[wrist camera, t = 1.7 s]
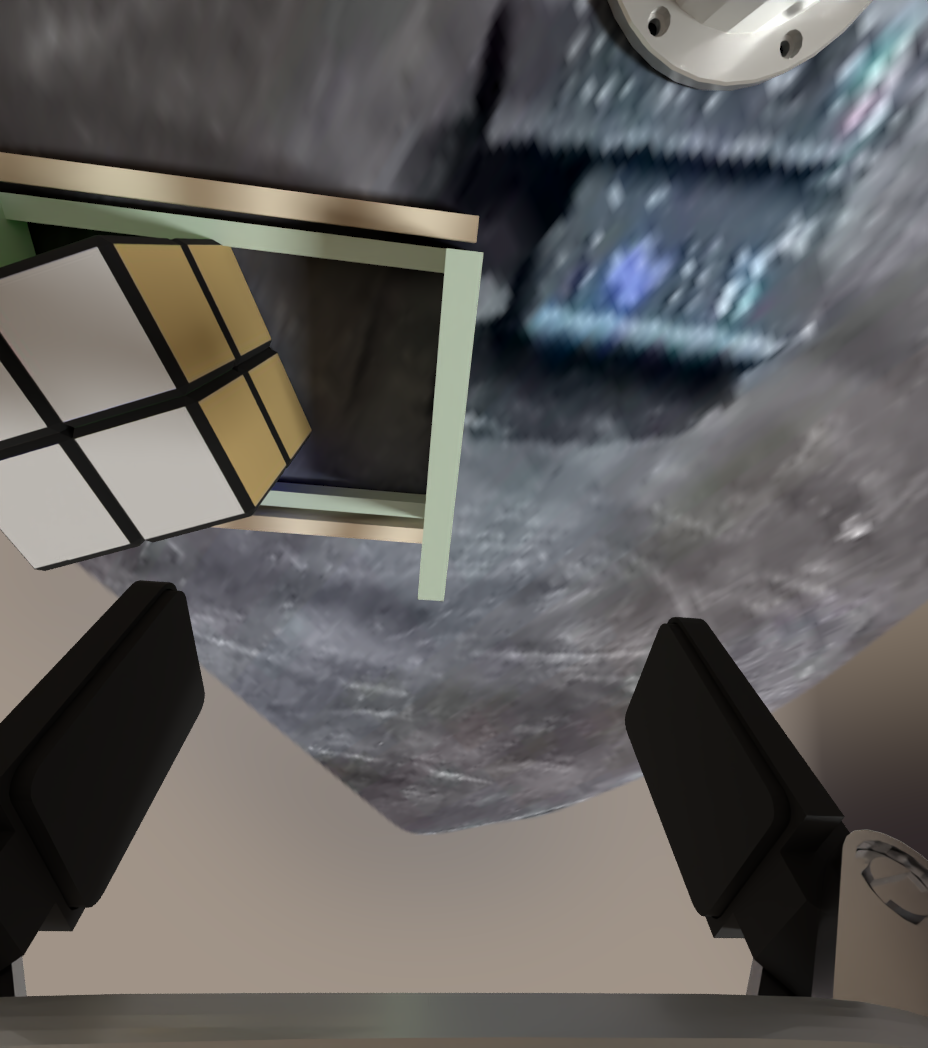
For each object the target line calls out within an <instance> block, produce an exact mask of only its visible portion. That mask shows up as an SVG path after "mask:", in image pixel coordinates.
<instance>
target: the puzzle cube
mask: <svg viewBox="0 0 928 1048" xmlns="http://www.w3.org/2000/svg"><path fill="white" fill-rule="evenodd" d="M271 340H272V339H271V337H270V335H269V332H268V330H267V328H266V326H265V323H264V321H263V319H262V317H261V314H260V312H259V310H258V308H257V305H256V303H255V301H254V299H253V296H252V294H251V292H250V290H249V287H248V285H247V283H246V281H245V278H244V276H243V274H242V272H241V269H240V267H239V265H238V263H237V260H236V258H235V256H234V254H233V251H232V249H231V247H229V246H223V245H221V244H220V243H218V242H216V241H215V240H213V239H187V238H174V239H171V240H170V239H168V238H152V237H131V236H110V235H95V236H92V237H89V238H86V239H83V240H80V241H77V242H74V243H71V244H68V245H65V246H62V247H59V248H56V249H54V250H51V251H48V252H45V253H42V254H39V255H36V256H33V257H30V258H27V259H24V260H21V261H18V262H15V263H12V264H9V265H6V266H3V267H0V530H1V531H2V532H3V533H4V534H5V535H6V537H7V538H8V539H9V540H10V541H11V542H12V544H13V545H14V546H15V547H16V548H17V549H18V551H19V552H20V553H21V554H22V555H23V556H24V558H25V559H26V560H27V561H28V562H29V563H30V564H31V566H32V567H33V568H34V569H37V570H43V571H46V570H50V569H54V568H58V567H62V566H65V565H69V564H73V563H77V562H80V561H84V560H88V559H92V558H96V557H99V556H103V555H107V554H111V553H114V552H118V551H122V550H126V549H130V548H133V547H137V546H140V545H141V544H142V543H143V542H144V541H145V540H147V541H150V542H156V541H160V540H164V539H167V538H171V537H175V536H179V535H182V534H186V533H190V532H194V531H198V530H201V529H205V528H209V527H213V526H216V525H220V524H224V523H228V522H232V521H235V520H239V519H243V518H247V517H250V516H252V515H253V514H254V512H255V511H256V510H257V508H258V507H259V506H260V504H261V503H262V501H263V500H264V499H265V497H266V496H267V495H268V493H269V492H270V490H271V489H272V488H273V486H274V485H275V483H276V482H277V481H278V479H279V478H280V477H281V475H282V474H283V472H284V470H285V468H287V467H288V466H289V465H290V463H291V462H292V460H293V459H294V458H295V456H296V455H297V453H298V452H299V451H300V449H301V448H302V446H303V445H304V444H305V442H306V441H307V439H308V438H309V436H310V434H311V431H312V430H311V427H310V425H309V423H308V421H307V418H306V416H305V414H304V412H303V409H302V407H301V405H300V403H299V400H298V398H297V396H296V394H295V391H294V389H293V387H292V385H291V382H290V380H289V378H288V376H287V373H286V371H285V369H284V367H283V364H282V362H281V360H280V358H279V355H278V353H277V352H275V351H273V350H271V349H269V345H270V343H271ZM267 348H268V349H267Z"/></svg>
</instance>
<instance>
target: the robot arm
mask: <svg viewBox="0 0 928 1048" xmlns="http://www.w3.org/2000/svg"><path fill="white" fill-rule="evenodd" d="M872 1H873V0H608V3H609V5H610V8H611V10H612V13H613V16H614V18H615V20H616V21H617V23H618V24H619V26H620V28H621V29H622V31H623V33H624V34H625V36H626V37H627V39H628V41H629V42H630V44H631V46H632V47H633V48H634V49H635V50H636V51H637V52H638V53H639V54H640V55H641V56H642V57H643V58H644V59H645V60H646V61H647V62H648V63H649V64H650V65H651V66H652V67H653V68H654V69H656V70H657V71H659V72H661V73H662V74H664V75H665V76H667V77H669V78H670V79H672V80H673V81H675V82H677V83H680V84H684V85H687V86H690V87H694V88H697V89H700V90H716V91H732V90H736V89H741V88H746V87H750V86H755V85H759V84H761V83H763V82H766V81H768V80H770V79H772V78H774V77H777V76H779V75H781V74H783V73H786V72H788V71H789V70H791V69H793V68H794V67H796V66H798V65H800V64H801V63H803V62H805V61H806V60H808V59H810V58H812V57H813V56H815V55H816V54H817V53H819V52H820V51H821V50H822V49H823V48H825V47H826V46H827V45H828V44H830V43H831V42H832V41H833V40H835V39H836V38H837V37H838V36H840V35H841V34H842V33H843V32H844V31H845V30H846V29H847V28H848V27H849V26H850V25H851V24H852V23H853V22H854V21H855V19H856V18H857V17H858V16H859V15H860V14H861V13H862V12H863V11H864V10H865V9H866V8H867V7H868V5H869V4H870V3H871V2H872ZM649 23H653V24H655V26H656V28H657V31H656V35H655V36H653V35H651V34H650V31H649V29H648V24H649ZM780 45H781V46H782V48H783V55H782V56H781V53H780ZM204 696H205V692H204V686H203V681H202V676H201V671H200V666H199V661H198V656H197V651H196V646H195V641H194V636H193V631H192V626H191V621H190V616H189V611H188V606H187V601H186V596H185V594H184V593H183V592H182V591H177V589H176V586H175V585H174V584H173V583H170V582H155V581H141V580H140V581H136V582H135V583H133V584H132V585H131V586H130V587H129V588H128V589H127V590H126V591H125V592H124V593H123V594H122V596H121V597H120V598H119V599H118V600H117V601H116V602H115V603H114V604H113V605H112V606H111V607H110V608H109V609H108V610H107V611H106V612H105V614H104V615H103V616H102V617H101V618H100V619H99V620H98V621H97V622H96V623H95V624H94V625H93V626H92V627H91V628H90V629H89V630H88V631H87V633H85V635H84V636H83V637H82V638H81V639H80V640H79V641H78V642H77V643H76V644H75V645H74V646H73V647H72V648H71V649H70V650H69V651H68V652H67V654H66V655H65V656H64V657H63V658H62V659H61V660H60V661H59V662H58V663H57V664H56V665H55V666H54V667H53V668H52V670H50V671H49V673H48V674H47V675H46V676H45V677H44V678H43V679H42V680H41V681H40V682H39V683H38V684H37V685H36V686H35V687H34V688H33V689H32V690H31V691H30V693H29V694H28V695H27V696H26V697H25V698H24V699H23V700H22V701H21V702H20V703H19V704H18V705H17V706H16V707H15V708H14V709H13V710H12V711H11V713H10V714H9V715H8V716H7V717H6V718H5V719H4V720H3V721H2V722H1V723H0V1048H928V861H927V860H926V859H925V858H924V857H923V856H922V855H920V854H919V853H917V852H916V851H914V850H913V849H912V848H910V847H909V846H907V845H906V844H904V843H903V842H901V841H899V840H896V839H894V838H892V837H890V836H888V835H886V834H883V833H880V832H875V831H872V830H855V831H853V832H852V833H849V831H848V830H847V828H846V827H845V825H844V824H843V823H842V819H843V818H844V815H843V814H842V812H841V811H840V810H839V808H838V807H837V805H836V804H835V803H834V801H833V800H832V798H831V797H830V796H829V794H828V793H827V791H826V790H825V789H824V787H823V786H822V784H821V783H820V781H819V780H818V779H817V777H816V776H815V775H814V773H813V772H812V771H811V769H810V767H809V766H808V765H807V763H806V762H805V760H804V759H803V758H802V756H801V755H800V754H799V752H798V751H797V749H796V748H795V746H794V745H793V744H792V742H791V741H790V739H789V738H788V737H787V735H786V734H785V732H784V731H783V730H782V728H781V727H780V725H779V724H778V722H777V721H776V720H775V718H774V717H773V715H772V714H771V713H770V711H769V710H768V708H767V707H766V706H765V704H764V703H763V701H762V700H761V699H760V697H759V696H758V694H757V693H756V692H755V690H754V689H753V687H752V686H751V685H750V683H749V682H748V680H747V679H746V678H745V676H744V675H743V673H742V672H741V671H740V669H739V668H738V666H737V665H736V664H735V662H734V661H733V659H732V658H731V657H730V655H729V654H728V652H727V651H726V649H725V648H724V647H723V645H722V644H721V642H720V641H719V640H718V638H717V637H716V635H715V634H714V633H713V631H712V630H711V628H710V627H709V626H708V624H707V623H706V622H705V621H704V620H702V619H696V618H682V617H673V618H671V619H670V620H669V621H668V623H667V624H662V625H661V626H660V628H659V630H658V633H657V635H656V638H655V640H654V643H653V645H652V648H651V651H650V653H649V656H648V658H647V661H646V663H645V666H644V668H643V671H642V673H641V676H640V679H639V681H638V684H637V686H636V689H635V691H634V694H633V696H632V699H631V701H630V704H629V707H628V709H627V712H626V716H625V725H626V730H627V733H628V736H629V739H630V741H631V744H632V746H633V749H634V752H635V754H636V757H637V759H638V762H639V765H640V767H641V770H642V773H643V775H644V778H645V780H646V783H647V785H648V788H649V791H650V793H651V796H652V799H653V801H654V804H655V807H656V809H657V812H658V814H659V817H660V820H661V822H662V825H663V827H664V830H665V833H666V835H667V838H668V840H669V843H670V846H671V848H672V851H673V854H674V856H675V859H676V861H677V864H678V867H679V869H680V872H681V874H682V877H683V880H684V882H685V885H686V888H687V890H688V893H689V895H690V898H691V901H692V903H693V905H694V907H695V909H696V910H697V912H698V913H699V914H700V915H701V916H705V917H706V919H707V922H708V924H709V927H710V930H711V932H712V935H713V937H714V938H745V940H746V942H747V944H748V947H749V949H750V951H751V954H752V956H753V961H752V966H751V972H750V977H749V982H748V987H747V992H746V995H719V994H604V993H236V994H235V993H232V994H104V995H66V996H27V995H26V987H25V979H24V970H23V961H22V956H23V955H24V954H25V952H26V951H27V949H28V947H29V946H30V944H31V942H32V941H33V939H34V937H35V936H36V934H37V932H38V931H73V929H74V927H75V925H76V924H77V922H78V920H79V918H80V916H81V914H82V913H83V911H84V909H85V908H87V907H92V906H93V905H95V904H96V903H97V902H98V900H99V899H100V898H101V896H102V895H103V893H104V891H105V889H106V888H107V886H108V884H109V882H110V880H111V878H112V876H113V874H114V873H115V871H116V869H117V867H118V865H119V863H120V861H121V859H122V857H123V856H124V854H125V852H126V850H127V848H128V846H129V844H130V842H131V841H132V839H133V837H134V835H135V833H136V831H137V829H138V828H139V826H140V824H141V822H142V820H143V818H144V816H145V815H146V812H147V811H148V809H149V807H150V805H151V803H152V801H153V800H154V798H155V796H156V794H157V792H158V790H159V788H160V786H161V785H162V783H163V781H164V779H165V777H166V775H167V773H168V771H169V770H170V768H171V766H172V764H173V762H174V760H175V758H176V756H177V755H178V753H179V751H180V749H181V747H182V745H183V743H184V741H185V740H186V738H187V736H188V734H189V732H190V730H191V728H192V727H193V724H194V723H195V721H196V719H197V717H198V715H199V713H200V711H201V709H202V706H203V703H204Z"/></svg>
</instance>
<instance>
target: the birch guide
mask: <svg viewBox="0 0 928 1048" xmlns="http://www.w3.org/2000/svg"><path fill="white" fill-rule="evenodd" d="M0 182H6V183H13V184H21V185H29V186H37V187H44V188H52V189H60V190H67V191H75V192H83V193H91V194H98V195H106V196H114V197H122V198H129V199H137V200H145V201H153V202H160V203H168V204H176V205H184V206H191V207H199V208H207V209H215V210H222V211H230V212H238V213H246V214H253V215H261V216H269V217H277V218H284V219H292V220H300V221H308V222H315V223H323V224H331V225H338V226H346V227H354V228H362V229H369V230H377V231H385V232H393V233H400V234H408V235H416V236H424V237H431V238H439V239H447V240H455V241H462V242H470V243H476V240H477V231H478V221H479V216H474V215H466V214H459V213H451V212H444V211H436V210H429V209H421V208H414V207H407V206H399V205H392V204H384V203H377V202H369V201H362V200H354V199H347V198H339V197H332V196H324V195H317V194H309V193H302V192H294V191H287V190H279V189H272V188H264V187H257V186H250V185H242V184H235V183H227V182H220V181H212V180H205V179H197V178H190V177H182V176H175V175H167V174H160V173H152V172H145V171H137V170H130V169H122V168H115V167H107V166H100V165H93V164H85V163H78V162H70V161H63V160H55V159H48V158H40V157H33V156H25V155H18V154H10V153H3V152H0ZM213 527H218V528H230V529H243V530H256V531H269V532H282V533H294V534H307V535H320V536H333V537H345V538H358V539H371V540H384V541H397V542H409V543H422V541H423V529H424V518H412V517H400V516H388V515H376V514H364V513H352V512H340V511H327V510H315V509H303V508H291V507H279V506H267V505H260V506H259V507H258V508H257V510H256V511H255V512H254V514H253V515H252V516H250V517H247V518H243V519H239V520H235V521H232V522H228V523H224V524H220V525H216V526H213Z"/></svg>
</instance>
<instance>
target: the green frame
mask: <svg viewBox="0 0 928 1048" xmlns="http://www.w3.org/2000/svg"><path fill="white" fill-rule="evenodd" d="M27 222H34V223H42V224H50V225H59V226H67V227H75V228H83V229H91V230H99V231H107V232H115V233H123V234H131V235H140V236H148V237H156V238H168V239H174V238H187V239H213V240H215V241H216V242H218V243H220V244H221V245H223V246H229V247H237V248H245V249H253V250H261V251H269V252H277V253H285V254H293V255H301V256H310V257H318V258H326V259H334V260H342V261H350V262H358V263H366V264H374V265H382V266H391V267H399V268H407V269H415V270H423V271H431V272H439V273H444V284H443V296H442V308H441V320H440V333H439V345H438V357H437V369H436V382H435V394H434V406H433V418H432V431H431V443H430V455H429V467H428V480H427V492H426V495H422V494H411V493H399V492H388V491H376V490H364V489H353V488H341V487H330V486H318V485H307V484H295V483H283V482H276V483H275V485H274V486H273V488H272V489H271V490H270V492H269V493H268V495H267V496H266V497H265V499H264V500H263V501H262V503H261V504H260V505H267V506H279V507H291V508H303V509H315V510H327V511H340V512H352V513H364V514H376V515H388V516H400V517H412V518H424V529H423V541H422V553H421V565H420V578H419V590H418V599H421V600H435V601H444V594H445V585H446V576H447V567H448V559H449V550H450V541H451V532H452V523H453V515H454V506H455V497H456V488H457V480H458V471H459V462H460V453H461V445H462V436H463V427H464V418H465V410H466V401H467V392H468V383H469V374H470V366H471V357H472V348H473V339H474V331H475V322H476V313H477V304H478V296H479V287H480V278H481V269H482V261H483V253H481V252H474V251H466V250H458V249H450V248H446V249H443V248H435V247H428V246H420V245H412V244H404V243H396V242H388V241H381V240H373V239H365V238H357V237H349V236H341V235H333V234H326V233H318V232H310V231H302V230H294V229H286V228H279V227H271V226H263V225H255V224H247V223H239V222H232V221H224V220H216V219H208V218H200V217H192V216H185V215H177V214H169V213H161V212H153V211H145V210H138V209H130V208H122V207H114V206H106V205H98V204H90V203H83V202H75V201H67V200H59V199H51V198H43V197H36V196H28V195H20V194H12V193H4V192H0V267H3V266H6V265H9V264H12V263H15V262H18V261H21V260H24V259H27V258H30V257H33V256H36V254H35V250H34V246H33V243H32V239H31V235H30V232H29V228H28V224H27Z"/></svg>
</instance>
